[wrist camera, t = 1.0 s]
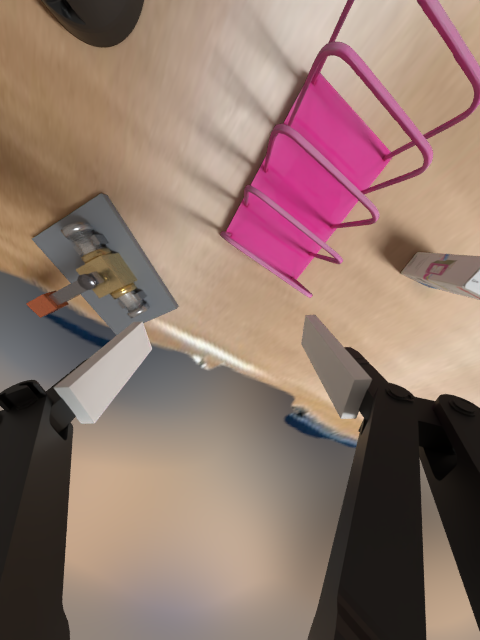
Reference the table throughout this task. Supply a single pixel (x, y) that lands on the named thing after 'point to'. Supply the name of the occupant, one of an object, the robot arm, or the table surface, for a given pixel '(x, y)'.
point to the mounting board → (120, 241)
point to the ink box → (446, 272)
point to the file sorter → (329, 162)
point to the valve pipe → (106, 268)
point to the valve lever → (65, 294)
